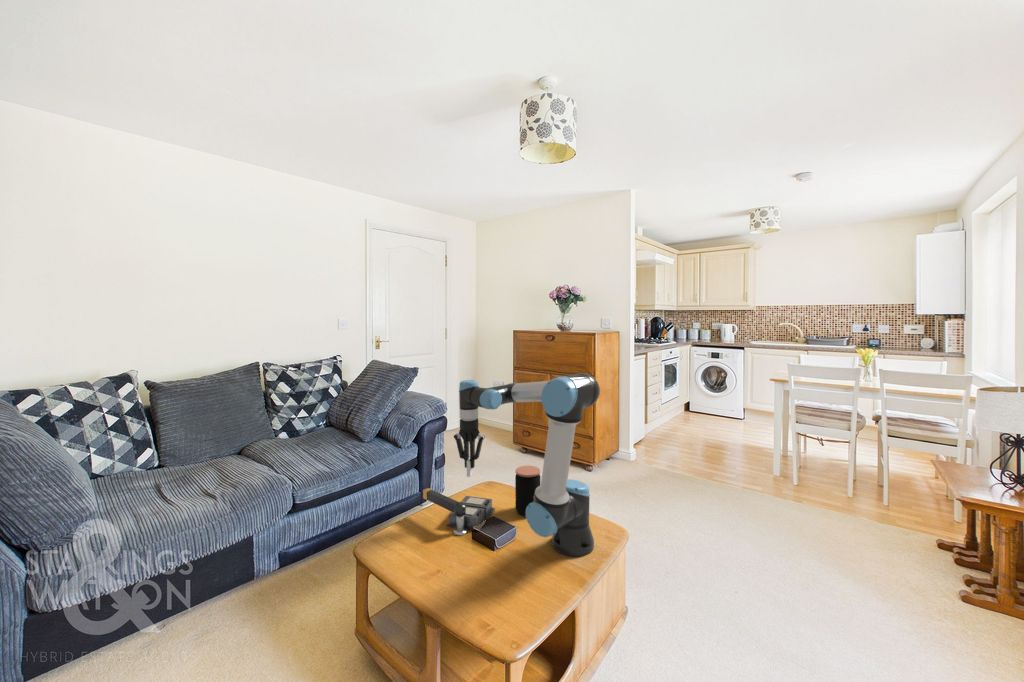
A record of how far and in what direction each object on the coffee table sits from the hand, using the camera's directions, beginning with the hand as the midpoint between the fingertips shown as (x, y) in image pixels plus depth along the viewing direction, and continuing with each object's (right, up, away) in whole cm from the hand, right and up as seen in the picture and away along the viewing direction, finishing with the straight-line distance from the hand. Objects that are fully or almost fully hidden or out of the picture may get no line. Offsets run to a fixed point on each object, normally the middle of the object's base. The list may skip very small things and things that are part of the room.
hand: (469, 475), depth 167 cm
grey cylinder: (-3, -19, -9) cm, 21 cm away
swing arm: (-10, -11, -3) cm, 15 cm away
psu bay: (+1, -18, +2) cm, 19 cm away
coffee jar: (+24, -18, +8) cm, 31 cm away
